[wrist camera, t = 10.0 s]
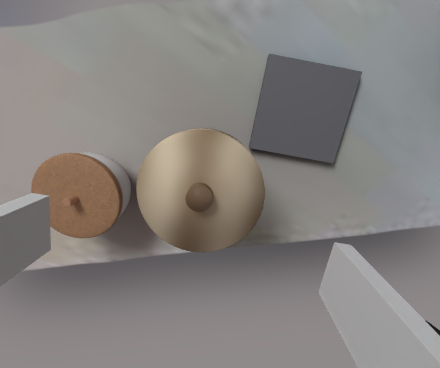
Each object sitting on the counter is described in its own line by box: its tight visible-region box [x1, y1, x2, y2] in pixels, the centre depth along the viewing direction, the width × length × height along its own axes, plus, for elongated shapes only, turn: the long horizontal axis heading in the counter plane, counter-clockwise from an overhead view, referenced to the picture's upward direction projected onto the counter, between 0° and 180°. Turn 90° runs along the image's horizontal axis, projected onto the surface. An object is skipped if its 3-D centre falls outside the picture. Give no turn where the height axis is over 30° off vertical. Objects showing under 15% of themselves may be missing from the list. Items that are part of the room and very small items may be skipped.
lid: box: [136, 128, 265, 252], centre depth 23 cm, size 12×12×4 cm
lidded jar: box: [32, 152, 131, 238], centre depth 32 cm, size 11×11×9 cm
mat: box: [249, 54, 362, 163], centre depth 32 cm, size 12×12×1 cm
